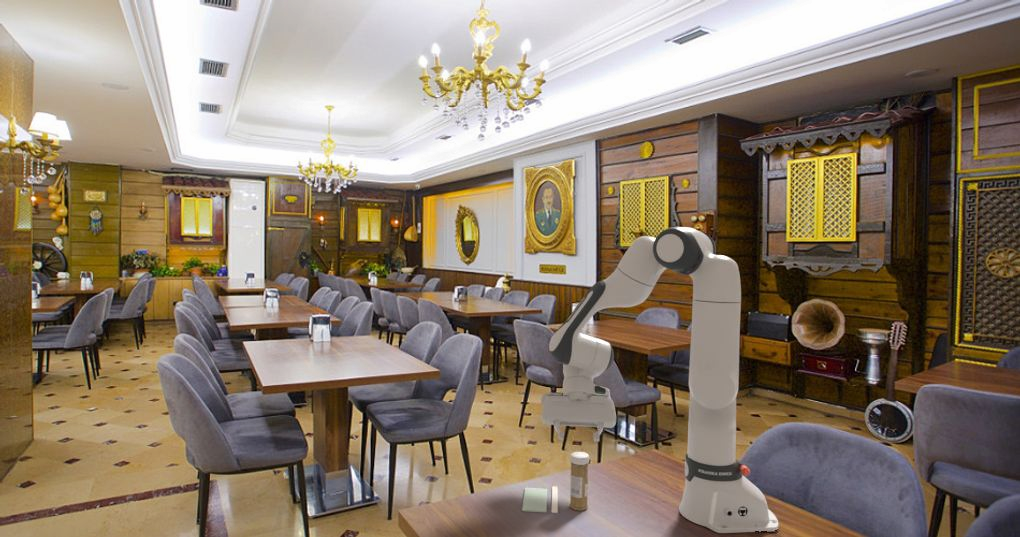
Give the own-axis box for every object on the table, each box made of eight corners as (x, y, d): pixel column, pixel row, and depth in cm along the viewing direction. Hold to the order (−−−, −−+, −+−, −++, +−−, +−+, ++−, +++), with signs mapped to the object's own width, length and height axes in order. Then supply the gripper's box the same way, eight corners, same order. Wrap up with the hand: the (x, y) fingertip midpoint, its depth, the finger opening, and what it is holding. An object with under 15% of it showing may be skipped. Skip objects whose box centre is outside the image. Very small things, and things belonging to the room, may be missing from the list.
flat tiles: (557, 487, 150) (557, 486, 150) (557, 513, 135) (557, 511, 135) (525, 485, 151) (525, 484, 151) (522, 511, 136) (522, 509, 136)
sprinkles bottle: (591, 508, 138) (592, 455, 138) (577, 513, 136) (578, 458, 135) (579, 501, 142) (580, 449, 142) (565, 505, 140) (566, 453, 139)
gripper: (541, 386, 155) (539, 432, 146) (615, 389, 153) (618, 435, 144) (541, 398, 160) (539, 443, 150) (613, 401, 158) (615, 446, 148)
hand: (578, 439), depth 147 cm, fingers open, 8 cm apart
